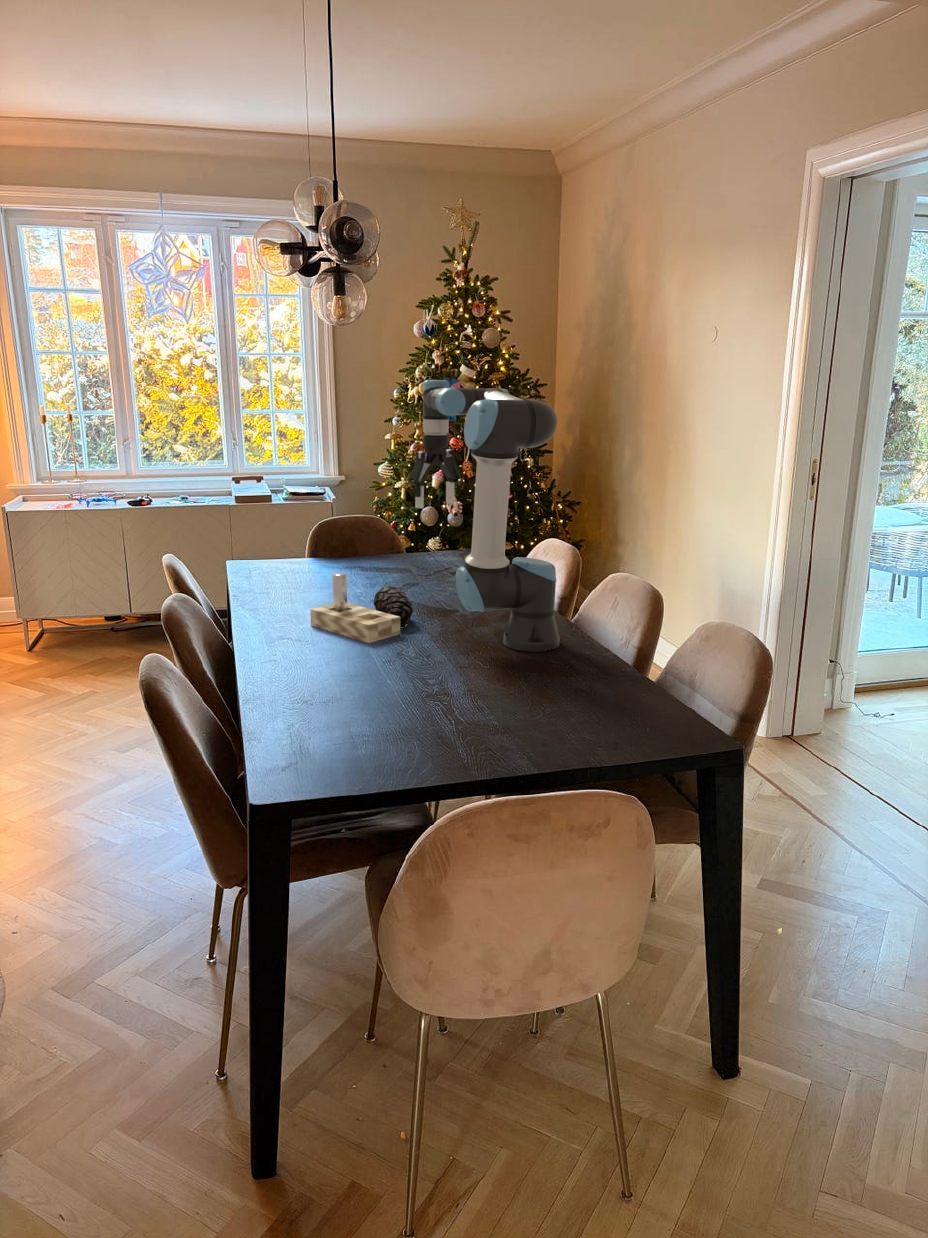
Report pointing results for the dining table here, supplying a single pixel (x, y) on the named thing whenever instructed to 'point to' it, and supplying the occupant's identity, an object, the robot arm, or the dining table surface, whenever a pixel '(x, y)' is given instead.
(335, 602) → the steel pin
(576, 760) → the dining table surface
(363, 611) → the hole block
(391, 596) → the pine cone
